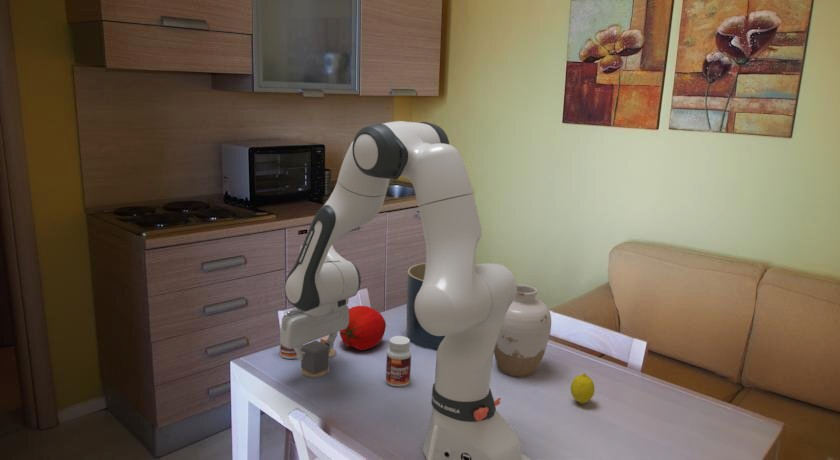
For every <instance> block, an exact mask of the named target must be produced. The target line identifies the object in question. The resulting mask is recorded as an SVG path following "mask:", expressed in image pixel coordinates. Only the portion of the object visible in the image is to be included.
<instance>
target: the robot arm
mask: <svg viewBox="0 0 840 460" xmlns="http://www.w3.org/2000/svg"><path fill="white" fill-rule="evenodd" d="M400 177H403V178H405V179H407V180H408V181H410V183H411V184H412V187H413V190H414V193H415V198H416V203H417V207H418V212H419V216H420V221H421V226H422V231H423V237H424V242H425V255H426V256H425V263H426V267H425V275H424V280H423V283H422V286H421V288H420V290H419V292H418V294H417V296H416V299H415V304H414V308H415V314H416V317H417V320H418V322H419V323H420V325H421V326H422V328H423V329H424V330H425V331H427V332H428V333H430V334H432V335H435V336H445V337H444V339H443V340H442V342H441V343H440V345H439V347H438V350H436V357H435V376H434V383H433V384H432V390H431V399H430V400H431V406H432V411H431V417H430V422H429V423H430V424H429V426H428V430H427V435H426V438H425V440H424V443H423V446H422V451H423V454H424V457H425V458H426V460H532V459H531V458H530V457H528V456H527V455H525V454H524V453H523V452H522V444H521V438H520V436H519V435H518V434H517V433H516V431H515V430H514V429H513V428H512V427H511V425H510V424H509V423H508V422H507V421H506V420H505V419H504V418H503V416H502V415H501V414H500V413H499V412H498V410H497V406H499V405H500V404H501V397H498V398H497V399H494V396H493V393H492V389H491V387H490V385H491V376H492V366H493V365H492V364H493V358H494V349H495V345H496V342H497V339H498V336H499V333H500V330H501V327H502V324H503V321H504V318H505V315H506V313H507V311H508V309H509V307H510V305H511V304H512V302H513V301H514V299H515V297H516V293H517V285H518V284H517V281H516V278H515V276H514V275H513V272H512V271H510V269H509V268H508V267H506V266H505V265H502V264H500V263H493V262H492V263H490V262H489V263H488V262H486V263H477V264H476V251H477V247H478V244H479V243H480V240H481V237H482V233H483V232H482V225H481V222H480V220H481V219H480V217H479V212H478V207H477V204H476V198H475V194H474V191H473V186H472V183H471V179H470V177H469V173H468V171H467V169H466V165H465V162H464V160H463V158H462V157H461V154H460V152H459V150H458V149H457V148H456V147H455V146H453V145H451V144H450V141H449V137H448V134H446V132H445V130H444V129H443V128H442V127H441V126H439V125H437V124H435V123H431V122H428V121H420V122H414V121H403V120H396V121H389V122H388V121H387V122H383V123H381V122H376V123H372V124H369V125H366V126H364V127H362V128H361V129H360V130H358V131H357V133H356V134H355V136H354V139H353V141H352V142H351V143H350V145H349V147H348V149H347V151H346V153H345V156H344V159H343V161H342V164H341V166H340V169H339V174H338V176H337V180H336V183H335V187H334V188H333V191H332V192H331V194H330V196H329V198H328V199H327V200H326V201H325V203H324V204H323V206H321V207H320V208H319V209H318V210H317V212H316V214H314V215H315V216H314V217H313V219H312V221H311V224H310V225H309V228H308V230H307V233H306V236H305V239H304V241H303V243H302V244H301V245H300V248H299V251H298V257H296V258H297V259H296V261H295V263H294V265H293V266H292V268H291V269H290V271H289V272H288V274H287V276H286V279H285V283H284V294H285V298H286V299H287V301H288V303H290V304H291V306H293V307H294V308H295V309H292V310H288V311H286V313H284V315H283V316H284V317H283V316H282V318H281V324H282V325H281V324H280V326H281V332H280V331H279V344H280V343H281V344H282V345H283V346H284V347H286V348H288V349H292V348H293V349H294V350H295V352H296V353H297V358H296V359H297V360H298V361H300V362H301V360H304V359H305V358H306V357H305V356H306V353H304V352H302V351H301V348H302V345H305V344H308V343H311V342H313V341H318V340H320V339H321V338H323V337H328V340H327V341H326V342H325V345H327V346H329V349H332V348H333V349H335V348H334V345H335V341H336V339H337V337H338V333H339V332H340V331H341V330H344V329H346V328H347V326H348V324H349V309H350V308H349V307H348V304H349V301H350V300H349V299H351V298H353V297H356V295H357V294H358V293H359V290H360V287H361V282H362V281H361V279H362V278H361V277H362V276H361V272H360V270H359V268H358V266H357V265H356V264H355V263H353V261H351V260H349V259H346V258H344V257H343V256H341V255H340V254H339V253H338V252H337V251H336V249H335V248H334V245H333V244H334V243H335V242H336V241H337V240H338V239H339V238H340V237H342V236H343V235H346V234H347V233H348V232H351V231H353V230H354V229H357V228H358V227H361V226H363V225H366V224H368V223H370V221H372V220H374V219H375V218H376V217H377V215H378V214H379V212H380V211H381V209H382V207H383V205H384V202H385V199H386V195H387V191H388V187H389V184H390V180H393V181H395V180H398V179H399V178H400ZM286 315H287V316H286Z"/></svg>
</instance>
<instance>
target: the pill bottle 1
mask: <svg viewBox="0 0 840 460" xmlns="http://www.w3.org/2000/svg"><path fill="white" fill-rule="evenodd" d="M286 316H287V315H286ZM283 317H284V315H283V316H282V318H283ZM281 325H282V323H281V324H280V326H279V333H280V332H281ZM303 345H304V344H303ZM303 345H302V346H303ZM279 356H281V357H282V358H283V359H285V360H286V359H288V360H294V359H297V353H296V352H295V350H294V349H293V348H292V349H288V348H286V347H284V346H283V345H282V344H281V343H280V342H279Z"/></svg>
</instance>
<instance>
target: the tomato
mask: <svg viewBox="0 0 840 460" xmlns="http://www.w3.org/2000/svg"><path fill="white" fill-rule="evenodd" d="M386 327H387V324H386V319H385V318H384V316H383V315H382V313H380V312H379V311H378V310H377V309H374V308H372V307H370V306H367V305H356V306H353V307H351V308H349V324H348V326H347V328H346V329H344V330H341V331H339V332H338V334H339V335H340V338H341V341H342V343H343V344H345V345H346V347H351V348H355V350H356V349H357V350H360V351H365V350H369V349H371V348H374V347H376V346H377V345H378V344H379V343H380V342H381V341H382V340H383V337H384V335H385V331H386Z"/></svg>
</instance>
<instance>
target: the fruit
mask: <svg viewBox="0 0 840 460" xmlns="http://www.w3.org/2000/svg"><path fill="white" fill-rule="evenodd" d="M570 393H571V396H572V398H573V399H574V400H575V401H577V402H578V403H579V404H582V405H583V404H585V403H587V402H589V401H590V400H591V399H592V398H593V396H594V394H595V384H594V381H593V380H592V378H591V377H590V376H588V375H587V374H586V373H584V372H583V374H579V375H577V376H575V377H574V378H573V379H572V382H571V384H570Z"/></svg>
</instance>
